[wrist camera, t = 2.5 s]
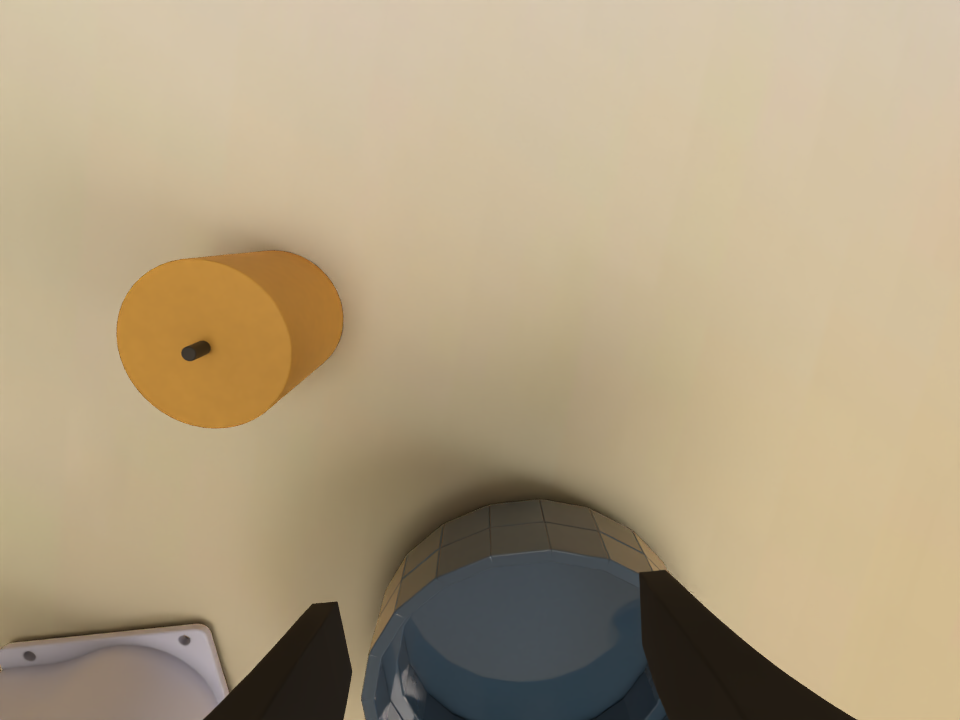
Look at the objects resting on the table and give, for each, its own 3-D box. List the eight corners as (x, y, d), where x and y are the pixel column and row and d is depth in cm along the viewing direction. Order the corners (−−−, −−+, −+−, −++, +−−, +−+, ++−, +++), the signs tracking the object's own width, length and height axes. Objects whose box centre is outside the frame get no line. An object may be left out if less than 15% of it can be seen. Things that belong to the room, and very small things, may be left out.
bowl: (407, 750, 25) (393, 847, 21) (359, 510, 21) (332, 572, 18) (678, 724, 24) (715, 819, 20) (670, 476, 21) (713, 531, 17)
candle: (233, 382, 20) (124, 449, 14) (202, 258, 19) (68, 272, 13) (353, 368, 20) (298, 429, 14) (330, 242, 19) (257, 248, 13)
